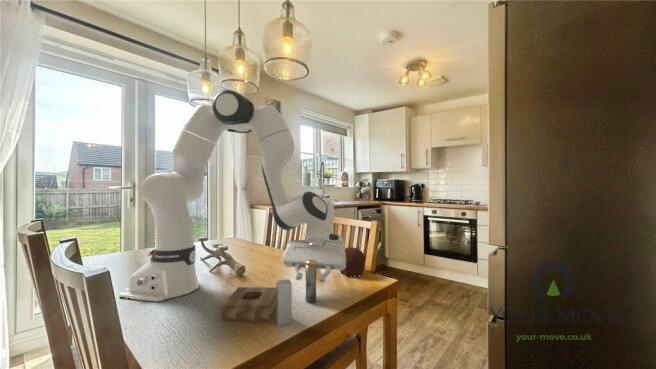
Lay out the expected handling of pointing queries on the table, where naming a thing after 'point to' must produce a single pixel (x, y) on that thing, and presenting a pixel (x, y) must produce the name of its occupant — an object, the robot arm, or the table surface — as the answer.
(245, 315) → the socket block
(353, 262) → the muffin
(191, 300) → the table surface
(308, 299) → the round bit
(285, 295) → the square bit
